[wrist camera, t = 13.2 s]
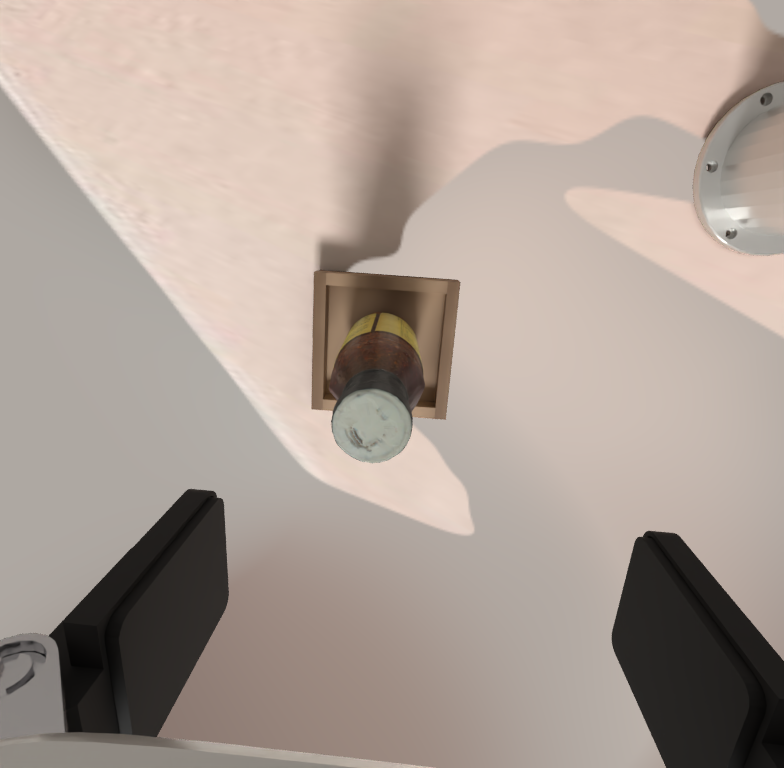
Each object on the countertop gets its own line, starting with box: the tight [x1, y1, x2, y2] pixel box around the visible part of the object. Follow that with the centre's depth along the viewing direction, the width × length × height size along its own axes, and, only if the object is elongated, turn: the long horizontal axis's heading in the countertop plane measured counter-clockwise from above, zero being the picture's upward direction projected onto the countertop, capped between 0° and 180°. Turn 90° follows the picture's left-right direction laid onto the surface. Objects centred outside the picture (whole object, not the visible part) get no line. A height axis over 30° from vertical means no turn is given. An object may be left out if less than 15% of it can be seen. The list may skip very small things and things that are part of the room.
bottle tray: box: [312, 270, 460, 419], centre depth 42 cm, size 12×12×2 cm
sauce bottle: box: [329, 312, 425, 463], centre depth 33 cm, size 7×6×20 cm
